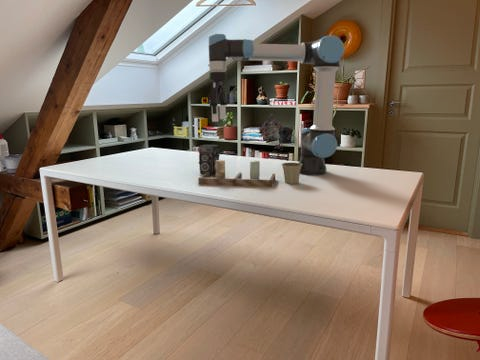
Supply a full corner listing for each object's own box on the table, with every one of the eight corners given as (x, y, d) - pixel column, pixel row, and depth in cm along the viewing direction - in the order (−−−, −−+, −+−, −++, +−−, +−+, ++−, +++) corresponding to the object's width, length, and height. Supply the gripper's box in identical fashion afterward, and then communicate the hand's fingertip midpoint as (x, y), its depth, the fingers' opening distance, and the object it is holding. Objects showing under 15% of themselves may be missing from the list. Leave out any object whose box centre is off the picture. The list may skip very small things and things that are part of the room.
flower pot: (277, 182, 167) (277, 164, 165) (290, 179, 172) (291, 161, 170) (292, 186, 160) (292, 167, 157) (305, 182, 165) (306, 164, 163)
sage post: (259, 181, 168) (260, 160, 166) (258, 183, 164) (259, 162, 162) (250, 181, 169) (250, 160, 167) (249, 183, 165) (249, 162, 162)
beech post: (226, 180, 171) (225, 159, 169) (224, 182, 167) (223, 161, 165) (217, 180, 172) (216, 159, 170) (215, 182, 168) (214, 161, 166)
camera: (195, 175, 181) (194, 146, 178) (203, 171, 191) (202, 143, 188) (214, 177, 178) (213, 147, 175) (222, 172, 188) (221, 144, 185)
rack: (275, 179, 171) (275, 173, 171) (271, 187, 158) (272, 180, 157) (207, 177, 178) (206, 171, 177) (198, 184, 165) (198, 177, 164)
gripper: (217, 73, 170) (218, 118, 175) (201, 70, 147) (203, 122, 152) (232, 73, 169) (233, 118, 174) (219, 69, 145) (220, 122, 150)
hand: (219, 120), depth 163 cm, fingers open, 13 cm apart
